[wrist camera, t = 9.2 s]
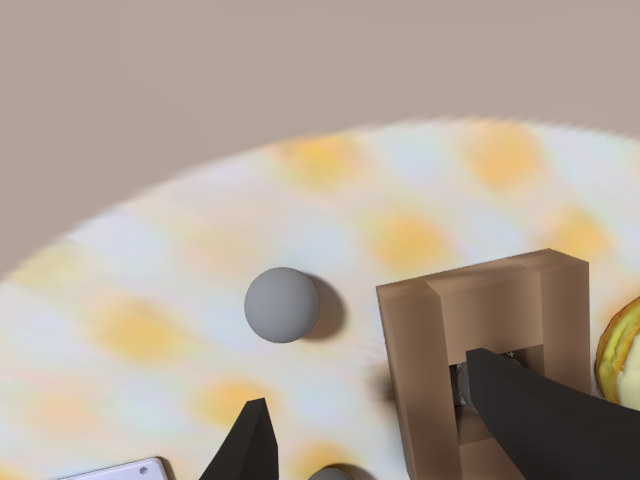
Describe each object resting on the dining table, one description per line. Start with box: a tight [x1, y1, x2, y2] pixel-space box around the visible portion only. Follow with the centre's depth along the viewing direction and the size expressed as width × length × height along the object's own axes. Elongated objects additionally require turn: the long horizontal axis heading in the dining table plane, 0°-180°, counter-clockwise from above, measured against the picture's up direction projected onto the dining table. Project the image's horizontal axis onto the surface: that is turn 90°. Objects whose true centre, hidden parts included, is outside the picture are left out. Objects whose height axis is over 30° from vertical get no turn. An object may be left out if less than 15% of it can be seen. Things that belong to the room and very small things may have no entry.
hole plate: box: [376, 248, 591, 480], centre depth 22 cm, size 11×14×3 cm
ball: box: [244, 267, 319, 343], centre depth 19 cm, size 4×4×4 cm
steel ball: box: [457, 353, 522, 414], centre depth 22 cm, size 4×4×4 cm
